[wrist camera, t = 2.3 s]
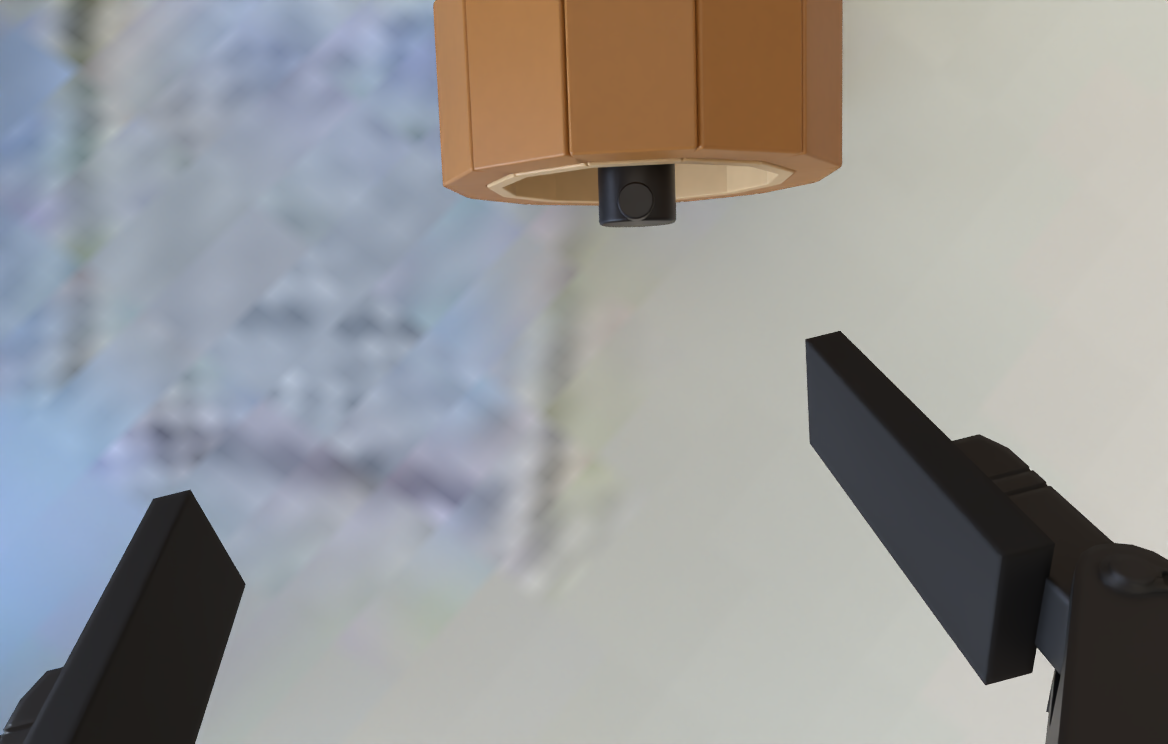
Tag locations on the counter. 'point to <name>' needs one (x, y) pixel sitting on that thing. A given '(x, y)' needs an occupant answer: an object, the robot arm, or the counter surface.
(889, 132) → the counter surface
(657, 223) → the hook stand
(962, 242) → the counter surface
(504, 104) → the tape roll
